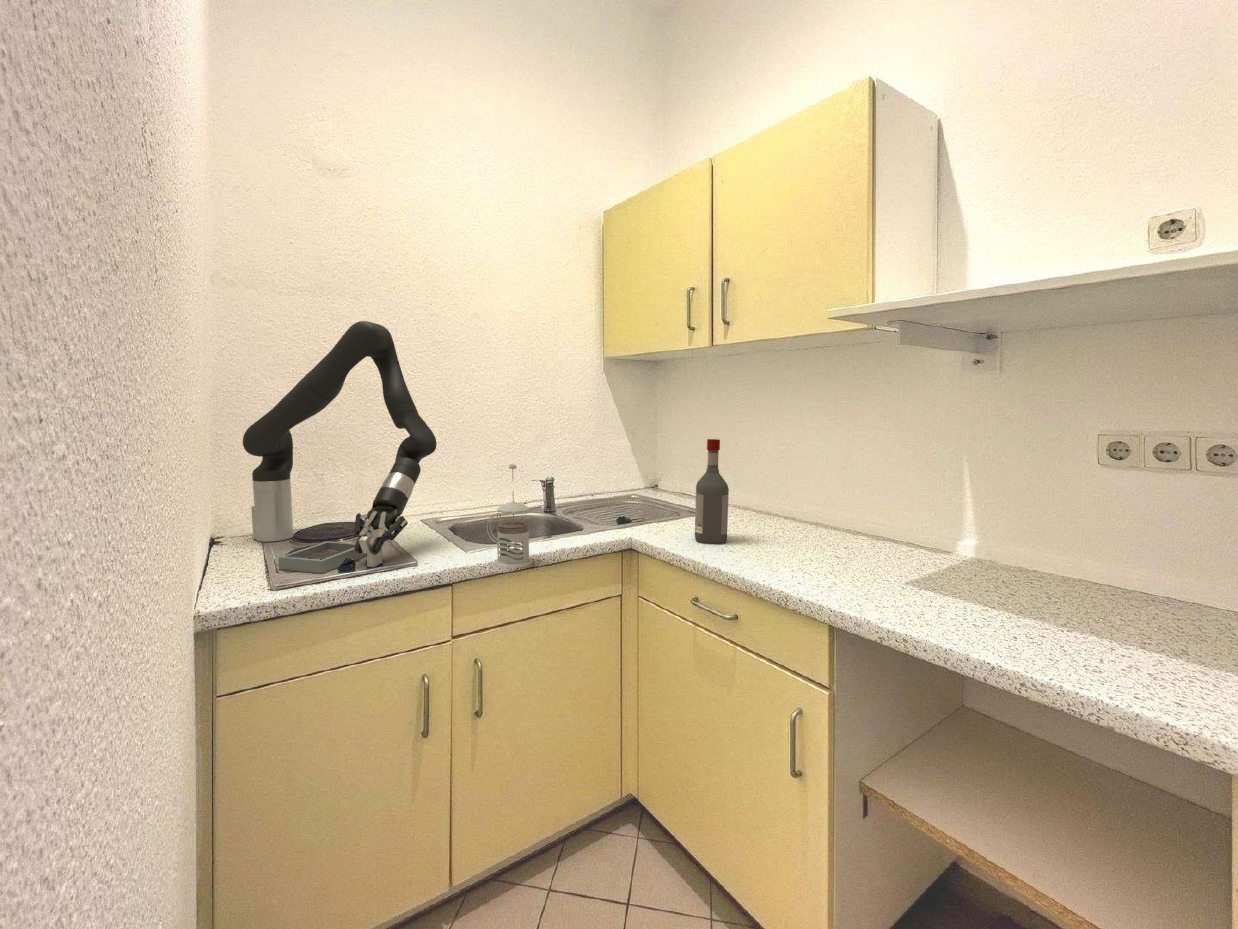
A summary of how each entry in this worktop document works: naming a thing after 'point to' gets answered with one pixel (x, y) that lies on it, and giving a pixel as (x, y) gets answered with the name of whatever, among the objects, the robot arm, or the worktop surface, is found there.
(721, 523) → the liquor
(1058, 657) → the worktop surface
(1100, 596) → the worktop surface
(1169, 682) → the worktop surface
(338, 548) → the tray
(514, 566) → the french press
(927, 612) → the worktop surface
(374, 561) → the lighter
